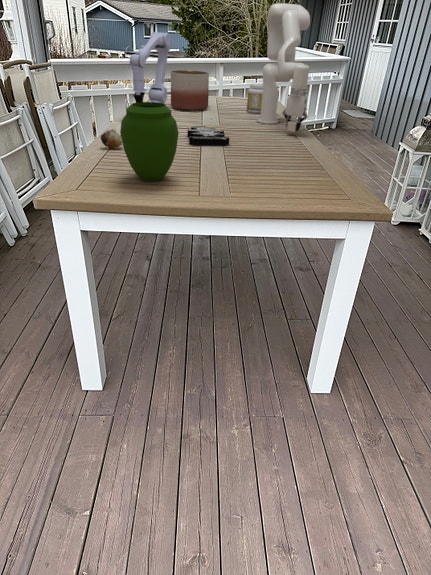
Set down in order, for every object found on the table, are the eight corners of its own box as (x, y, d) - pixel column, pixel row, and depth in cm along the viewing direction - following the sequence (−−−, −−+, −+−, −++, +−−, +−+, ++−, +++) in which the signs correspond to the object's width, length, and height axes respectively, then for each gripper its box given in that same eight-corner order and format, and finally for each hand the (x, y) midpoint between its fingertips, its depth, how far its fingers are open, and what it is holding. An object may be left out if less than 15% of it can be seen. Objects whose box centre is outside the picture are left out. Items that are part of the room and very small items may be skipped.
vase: (131, 189, 135) (125, 110, 122) (118, 172, 150) (112, 100, 137) (186, 184, 142) (187, 109, 129) (169, 168, 157) (167, 99, 144)
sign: (189, 138, 189) (185, 125, 214) (189, 145, 190) (185, 131, 216) (230, 139, 191) (221, 126, 216) (230, 145, 193) (221, 132, 218)
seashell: (124, 147, 182) (123, 128, 178) (122, 150, 177) (120, 130, 173) (103, 146, 182) (101, 127, 178) (100, 149, 177) (98, 129, 173)
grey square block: (294, 131, 216) (295, 123, 213) (286, 130, 218) (287, 122, 215) (298, 130, 219) (299, 122, 217) (290, 128, 221) (291, 120, 219)
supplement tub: (247, 109, 285) (249, 83, 276) (264, 111, 283) (267, 84, 274) (245, 112, 274) (248, 84, 265) (264, 114, 273) (266, 86, 264)
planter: (201, 105, 293) (202, 70, 281) (212, 111, 273) (214, 74, 261) (167, 105, 285) (166, 69, 274) (175, 111, 265) (175, 73, 253)
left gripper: (145, 82, 213) (146, 110, 220) (146, 79, 225) (147, 105, 232) (131, 81, 212) (133, 109, 219) (133, 78, 224) (135, 105, 231)
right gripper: (316, 93, 207) (310, 131, 217) (286, 89, 215) (281, 125, 225) (310, 95, 202) (304, 133, 212) (280, 90, 209) (275, 128, 219)
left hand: (139, 107), depth 226 cm, fingers open, 7 cm apart
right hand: (292, 129), depth 218 cm, fingers closed on grey square block, 4 cm apart
